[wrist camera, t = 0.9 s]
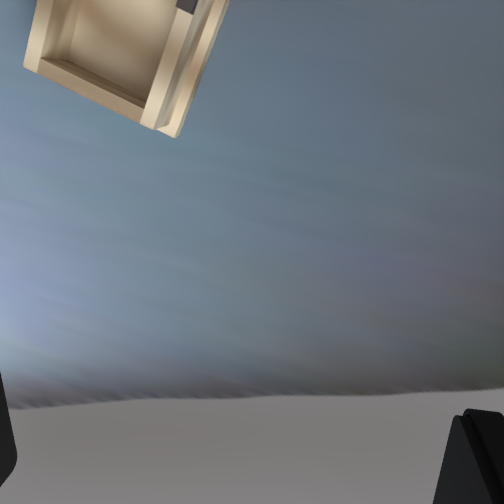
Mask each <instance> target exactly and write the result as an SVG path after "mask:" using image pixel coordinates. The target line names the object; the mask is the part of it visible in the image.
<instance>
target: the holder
mask: <svg viewBox="0 0 504 504" xmlns="http://www.w3.org/2000/svg"><path fill="white" fill-rule="evenodd" d="M229 2H230V0H37V5H36V9H35V14H34V18H33V23H32V27H31V32H30V36H29V41H28V45H27V50H26V54H25V59H24V64H23V67H25V68H27V69H29V70H31V71H33V72H35V73H37V74H40V75H42V76H44V77H46V78H48V79H50V80H52V81H54V82H56V83H58V84H60V85H62V86H64V87H66V88H68V89H70V90H72V91H74V92H76V93H78V94H80V95H82V96H84V97H87V98H89V99H91V100H93V101H95V102H97V103H99V104H101V105H103V106H105V107H107V108H109V109H111V110H113V111H115V112H117V113H119V114H121V115H123V116H125V117H127V118H129V119H132V120H134V121H136V122H138V123H140V124H142V125H144V126H146V127H148V128H150V129H152V130H154V129H157V130H159V131H161V132H163V133H165V134H167V135H169V136H171V137H173V138H176V137H178V136H179V135H180V132H181V129H182V127H183V124H184V121H185V119H186V116H187V114H188V111H189V108H190V106H191V103H192V100H193V98H194V95H195V92H196V90H197V87H198V84H199V82H200V79H201V76H202V74H203V71H204V69H205V66H206V63H207V61H208V58H209V55H210V53H211V50H212V47H213V45H214V42H215V39H216V37H217V34H218V31H219V29H220V26H221V24H222V21H223V18H224V16H225V13H226V10H227V8H228V5H229Z"/></svg>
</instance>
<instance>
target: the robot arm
mask: <svg viewBox="0 0 504 504" xmlns="http://www.w3.org/2000/svg"><path fill="white" fill-rule="evenodd" d="M16 461H17V450H16V446H15V441H14V436H13V431H12V426H11V421H10V417H9V412H8V407H7V402H6V397H5V392H4V388H3V383H2V378H1V373H0V487H1V485H2V484H3V483H4V482H5V480H6V479H7V478H8V477H9V475H10V474H11V472H12V471H13V469H14V467H15V465H16ZM433 504H504V416H503V415H502V414H501V413H499V412H492V411H485V410H477V409H466V410H465V411H464V413H463V416H459V415H456V416H455V417H454V418H453V421H452V425H451V429H450V433H449V437H448V442H447V446H446V450H445V454H444V458H443V463H442V467H441V471H440V476H439V479H438V483H437V488H436V492H435V496H434V500H433Z"/></svg>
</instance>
